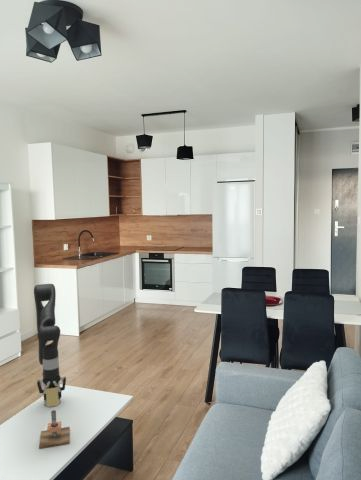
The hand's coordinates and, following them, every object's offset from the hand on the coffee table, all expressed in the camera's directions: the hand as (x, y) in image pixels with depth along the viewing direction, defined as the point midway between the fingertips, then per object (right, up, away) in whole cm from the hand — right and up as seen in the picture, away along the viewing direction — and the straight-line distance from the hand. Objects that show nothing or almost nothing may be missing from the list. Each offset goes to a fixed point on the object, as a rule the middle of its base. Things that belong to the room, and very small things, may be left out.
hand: (52, 399), depth 202 cm
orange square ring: (0, -15, +1) cm, 15 cm away
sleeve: (0, -2, 0) cm, 2 cm away
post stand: (+1, -20, +2) cm, 20 cm away
